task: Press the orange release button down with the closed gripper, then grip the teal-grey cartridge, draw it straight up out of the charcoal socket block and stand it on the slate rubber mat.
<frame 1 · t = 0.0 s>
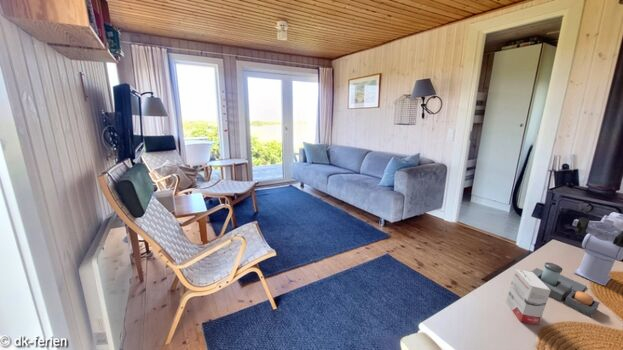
hand: (597, 235, 80), 22 cm above the table, tool horizontal, fingers open, 7 cm apart
slate mat: (569, 284, 90), on the table
ink box: (520, 313, 77), on the table
release button: (583, 299, 80), point 3 cm above the table, slide at 0.0 cm
socket block: (546, 286, 89), on the table
button housing: (580, 306, 80), on the table
cartridge: (549, 276, 88), in the socket block
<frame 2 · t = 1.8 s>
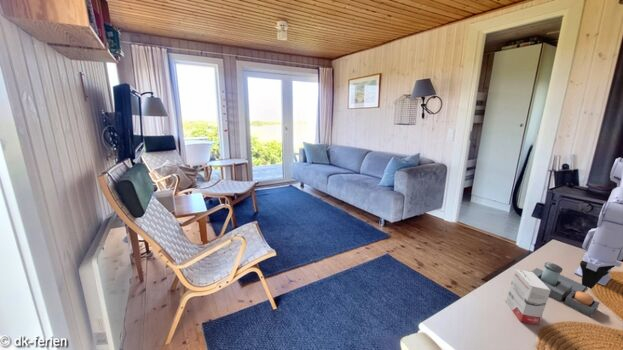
hand: (589, 283, 78), 8 cm above the table, tool pointing down, fingers open, 5 cm apart
nothing on the table moved.
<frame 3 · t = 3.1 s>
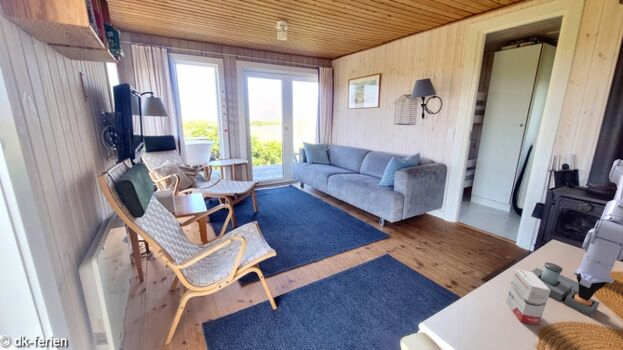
hand: (583, 298, 79), 3 cm above the table, tool pointing down, fingers closed, pressing on release button
release button: (582, 301, 80), point 2 cm above the table, slide at 0.9 cm, touching gripper
everything else where it was.
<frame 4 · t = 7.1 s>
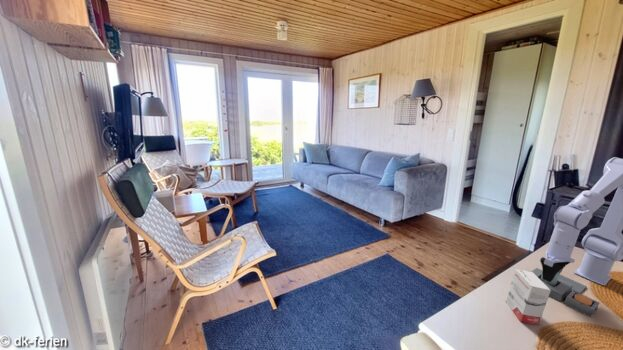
hand: (549, 277, 88), 3 cm above the table, tool pointing down, fingers closed on cartridge, 4 cm apart
release button: (582, 301, 80), point 2 cm above the table, slide at 0.9 cm
cartridge: (549, 276, 88), in the socket block, touching gripper
everything else where it was.
when the fingers open (5 cm above the table, at t = 11.1 s): cartridge moves 1 cm, resting on slate mat.
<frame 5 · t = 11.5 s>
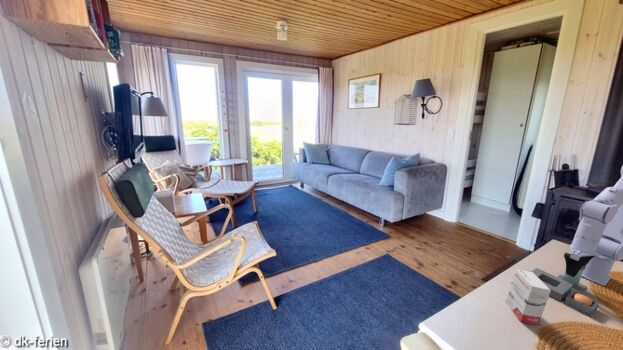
hand: (573, 272, 89), 5 cm above the table, tool pointing down, fingers open, 7 cm apart
cartridge: (573, 273, 89), on the slate mat
everything else where it was.
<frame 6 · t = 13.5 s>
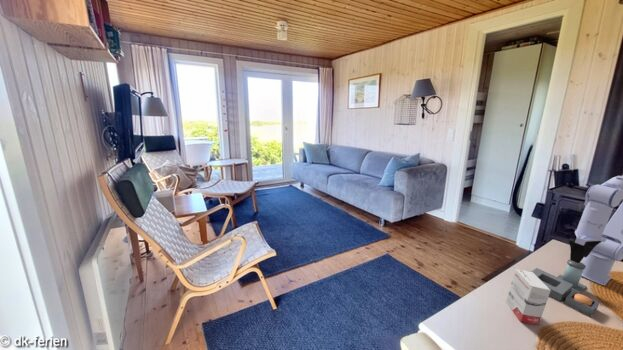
hand: (578, 258, 87), 10 cm above the table, tool pointing down, fingers open, 7 cm apart
nothing on the table moved.
at the end: release button slide at 0.9 cm; cartridge 0.2 cm from the target spot, resting on slate mat; cartridge tilted 1° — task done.
